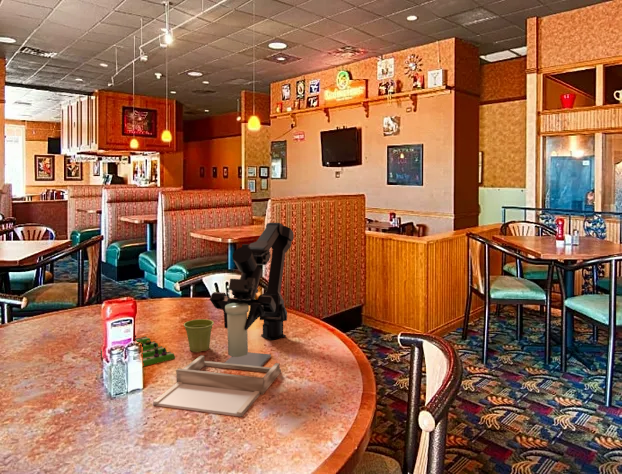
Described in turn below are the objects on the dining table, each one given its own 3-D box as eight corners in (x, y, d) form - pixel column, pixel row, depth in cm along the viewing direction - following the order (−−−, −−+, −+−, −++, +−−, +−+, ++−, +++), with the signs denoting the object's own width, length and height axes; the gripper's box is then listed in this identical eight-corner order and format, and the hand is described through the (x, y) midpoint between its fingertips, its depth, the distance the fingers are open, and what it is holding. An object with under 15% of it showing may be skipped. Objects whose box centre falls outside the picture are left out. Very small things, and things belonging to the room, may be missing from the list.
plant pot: (207, 355, 155) (206, 328, 154) (179, 353, 157) (178, 326, 156) (218, 345, 165) (218, 320, 164) (192, 343, 166) (191, 318, 165)
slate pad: (237, 353, 157) (237, 351, 157) (270, 356, 154) (270, 354, 154) (223, 366, 146) (223, 363, 146) (258, 370, 144) (258, 367, 144)
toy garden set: (175, 360, 153) (175, 345, 152) (112, 376, 140) (111, 360, 140) (146, 341, 170) (145, 328, 170) (87, 353, 158) (86, 339, 157)
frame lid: (178, 385, 133) (178, 381, 133) (259, 395, 127) (259, 391, 127) (153, 405, 121) (153, 401, 121) (241, 416, 116) (241, 412, 116)
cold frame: (202, 363, 148) (202, 350, 148) (280, 372, 142) (280, 358, 142) (176, 384, 134) (176, 370, 133) (262, 394, 128) (262, 379, 127)
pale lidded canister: (241, 347, 147) (240, 301, 145) (254, 353, 142) (253, 306, 140) (222, 352, 143) (220, 305, 141) (234, 359, 138) (233, 310, 136)
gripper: (211, 265, 145) (195, 312, 136) (272, 268, 141) (259, 317, 132) (223, 285, 154) (208, 331, 145) (281, 289, 150) (269, 336, 141)
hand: (235, 328), depth 140 cm, fingers closed on pale lidded canister, 6 cm apart
